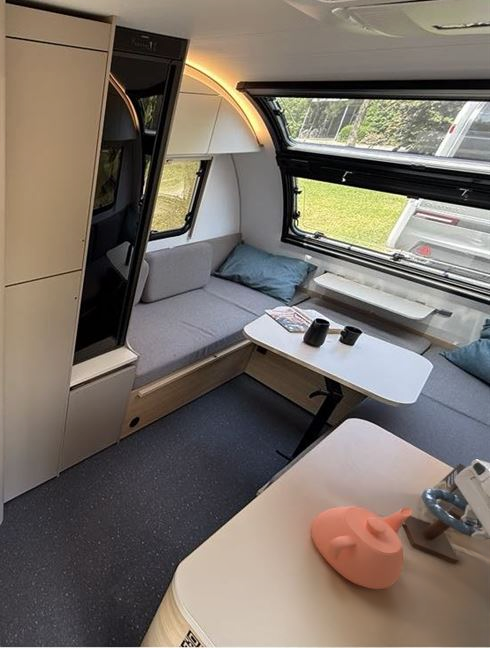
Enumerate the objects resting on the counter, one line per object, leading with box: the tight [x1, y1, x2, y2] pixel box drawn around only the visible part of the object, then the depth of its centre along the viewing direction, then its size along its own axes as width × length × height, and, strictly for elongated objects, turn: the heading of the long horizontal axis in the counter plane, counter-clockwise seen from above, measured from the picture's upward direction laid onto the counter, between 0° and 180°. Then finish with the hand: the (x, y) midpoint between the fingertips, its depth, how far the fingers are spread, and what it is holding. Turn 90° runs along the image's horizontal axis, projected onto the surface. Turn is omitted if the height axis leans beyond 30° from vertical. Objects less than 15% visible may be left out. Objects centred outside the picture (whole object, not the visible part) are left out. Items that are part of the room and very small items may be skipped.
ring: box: [420, 488, 490, 540], centre depth 88 cm, size 12×12×2 cm
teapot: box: [310, 506, 413, 590], centre depth 86 cm, size 25×17×13 cm
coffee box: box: [422, 463, 467, 533], centre depth 96 cm, size 9×6×16 cm
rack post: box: [401, 507, 464, 564], centre depth 91 cm, size 9×9×12 cm
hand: (469, 529), depth 84 cm, fingers closed on ring, 2 cm apart
